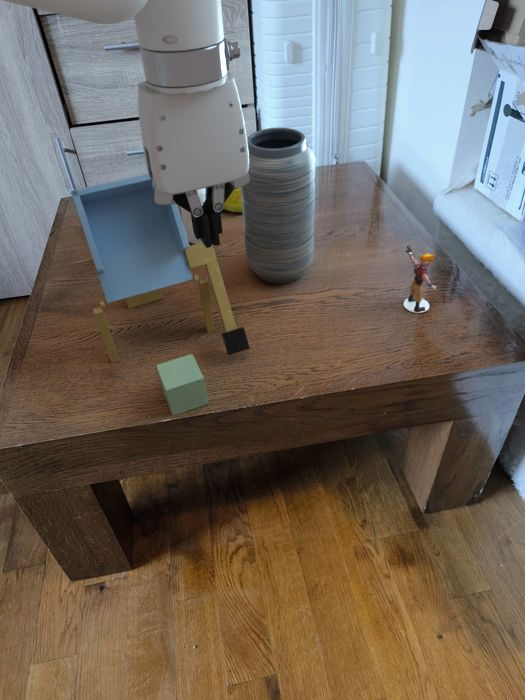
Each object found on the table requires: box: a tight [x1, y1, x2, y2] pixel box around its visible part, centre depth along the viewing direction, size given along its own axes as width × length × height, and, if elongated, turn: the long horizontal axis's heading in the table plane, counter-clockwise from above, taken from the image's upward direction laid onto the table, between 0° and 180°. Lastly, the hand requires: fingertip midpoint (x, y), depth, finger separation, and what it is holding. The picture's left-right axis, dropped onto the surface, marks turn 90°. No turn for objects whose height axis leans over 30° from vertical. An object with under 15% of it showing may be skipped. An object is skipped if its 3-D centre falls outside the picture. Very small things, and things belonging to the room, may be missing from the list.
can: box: [179, 188, 206, 245], centre depth 96 cm, size 6×6×12 cm
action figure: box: [403, 245, 438, 314], centre depth 79 cm, size 12×3×9 cm, turn 9°
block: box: [155, 353, 209, 417], centre depth 68 cm, size 5×5×5 cm
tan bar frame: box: [92, 274, 216, 364], centre depth 78 cm, size 16×13×10 cm
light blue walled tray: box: [70, 173, 250, 356], centre depth 69 cm, size 17×26×6 cm
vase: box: [241, 127, 316, 284], centre depth 83 cm, size 12×12×23 cm
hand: (209, 240), depth 59 cm, fingers closed
